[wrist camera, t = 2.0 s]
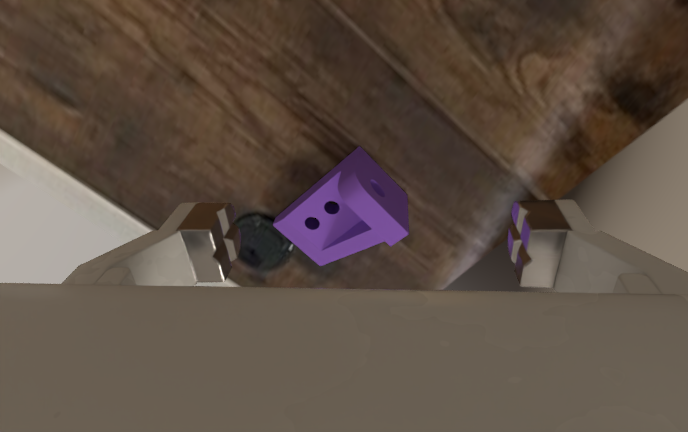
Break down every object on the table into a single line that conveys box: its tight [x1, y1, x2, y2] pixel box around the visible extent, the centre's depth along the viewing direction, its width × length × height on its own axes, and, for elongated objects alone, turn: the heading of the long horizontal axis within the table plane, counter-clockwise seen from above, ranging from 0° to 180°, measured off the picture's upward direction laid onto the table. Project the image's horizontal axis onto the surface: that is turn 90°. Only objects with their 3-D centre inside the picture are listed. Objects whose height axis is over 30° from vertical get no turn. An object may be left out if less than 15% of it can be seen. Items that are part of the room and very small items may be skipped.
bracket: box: [273, 146, 409, 266], centre depth 41 cm, size 12×7×7 cm, turn 134°
